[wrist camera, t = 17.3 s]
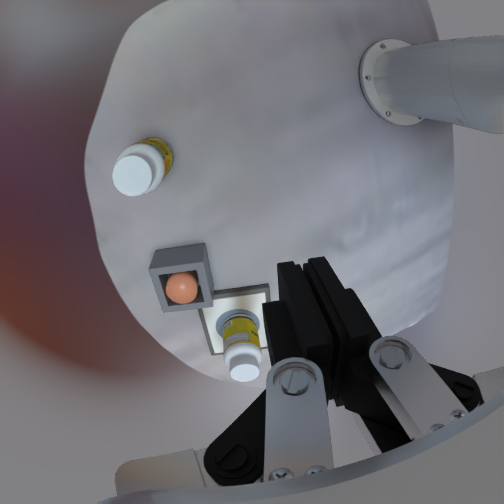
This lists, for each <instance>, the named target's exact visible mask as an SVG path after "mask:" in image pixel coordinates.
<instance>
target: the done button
mask: <svg viewBox="0 0 504 504" xmlns="http://www.w3.org/2000/svg"><path fill="white" fill-rule="evenodd" d="M197 287H198V275H197V273H196V271H195V270H192V271H185V272H177V273H170V274H169V278H168V282H167V286H166V294H167V296H168V297H169V298H170V299H171V300H172V301H174V302H176V303H180V304H186V303H189V302H191V301H193V300H194V299H195V297H196V295H197Z"/></svg>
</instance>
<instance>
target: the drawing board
mask: <svg viewBox="0 0 504 504" xmlns="http://www.w3.org/2000/svg"><path fill="white" fill-rule="evenodd" d="M266 302H271V301H270V290H269V284H261V285H255V286H248V287H240V288H233V289H226V290H218V291H214V297H213V307H209V308H200V309H198V311H199V315H200V318H201V322H202V325H203V329H204V332H205V336H206V339H207V342H208V346H209V349H210V352H211V355H221V354H224V352H223V333H222V326H223V323H224V321H225V320H226V319H227V318H228V317H230V316H232V315H236V314H245V315H248V316H250V317H252V318H253V319H254V320H255V322H256V325H257V330H258V335H259V341H260V346H261V349H266V348H268V346H267V340H266V335H265V328H264V320H263V311H262V303H266Z"/></svg>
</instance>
